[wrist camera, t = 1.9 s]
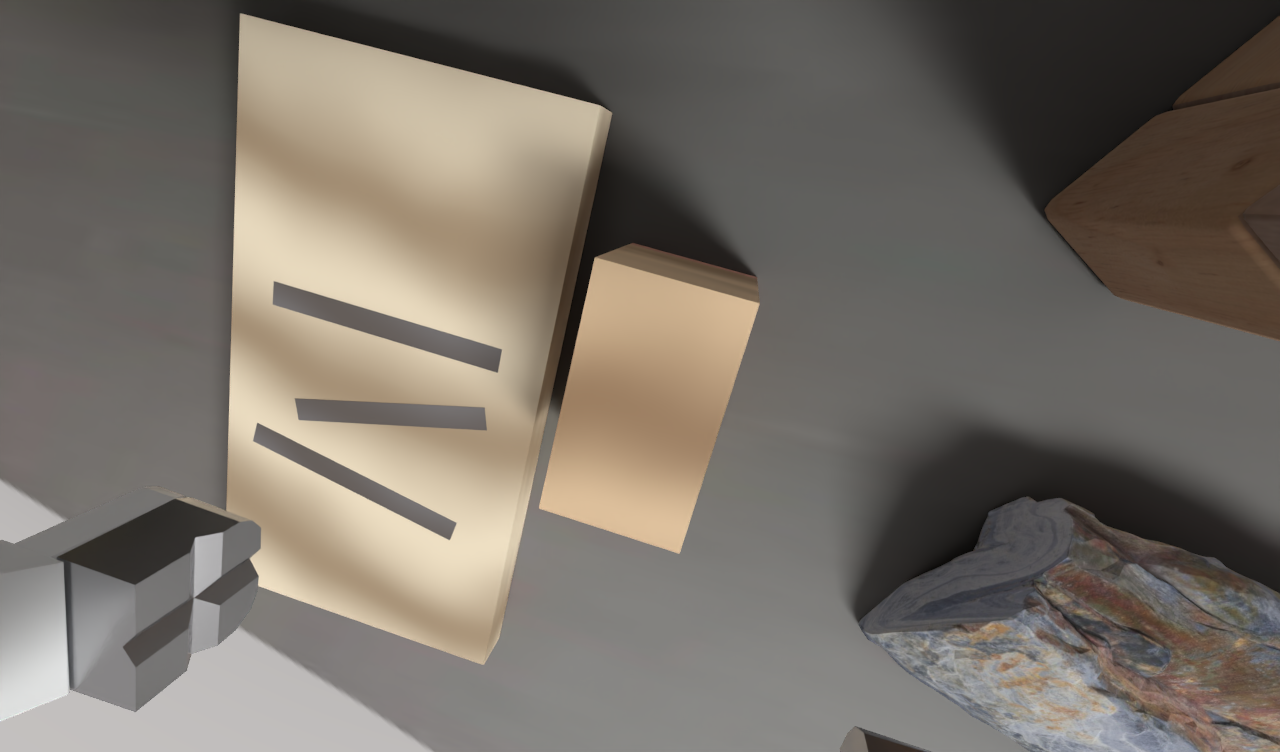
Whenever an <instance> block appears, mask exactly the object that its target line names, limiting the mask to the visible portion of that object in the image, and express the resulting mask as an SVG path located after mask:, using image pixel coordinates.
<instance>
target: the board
mask: <svg viewBox="0 0 1280 752" xmlns="http://www.w3.org/2000/svg"><path fill="white" fill-rule="evenodd" d="M611 117H612V112H610V111H609V110H607V109H605V108H604V107H602V106H601V105H597V104H593V103H589V102H585V101H581V100H577V99H573V98H569V97H565V96H562V95H558V94H554V93H550V92H546V91H542V90H538V89H534V88H530V87H526V86H522V85H519V84H515V83H511V82H507V81H503V80H499V79H495V78H491V77H487V76H483V75H479V74H476V73H472V72H468V71H464V70H460V69H456V68H452V67H448V66H444V65H440V64H436V63H433V62H429V61H425V60H421V59H417V58H413V57H409V56H405V55H401V54H397V53H393V52H390V51H386V50H382V49H378V48H374V47H370V46H366V45H362V44H358V43H354V42H350V41H347V40H343V39H339V38H335V37H331V36H327V35H323V34H319V33H315V32H311V31H307V30H304V29H300V28H296V27H292V26H288V25H284V24H280V23H276V22H272V21H268V20H265V19H261V18H257V17H253V16H249V15H245V14H241V13H240V32H239V68H238V105H237V142H236V178H235V215H234V252H233V288H232V325H231V362H230V398H229V435H228V472H227V509H226V511H229V512H231V513H234V514H237V515H239V516H242V517H245V518H247V519H250V520H253V521H254V522H255V523H256V524H257V525H259V526H260V527H261V549H260V550H259V551H258V552H256V553H255V554H254V555H253V556H252V557H251V558H250V560H251V562H252V564H253V566H254V568H255V570H256V572H257V574H258V576H259V579H258V586H260V587H263V588H265V589H268V590H271V591H274V592H277V593H280V594H282V595H285V596H288V597H291V598H294V599H297V600H300V601H302V602H305V603H308V604H311V605H314V606H317V607H320V608H322V609H325V610H328V611H331V612H334V613H337V614H339V615H342V616H345V617H348V618H351V619H354V620H357V621H359V622H362V623H365V624H368V625H371V626H374V627H376V628H379V629H382V630H385V631H388V632H391V633H394V634H396V635H399V636H402V637H405V638H408V639H411V640H413V641H416V642H419V643H422V644H425V645H428V646H431V647H433V648H436V649H439V650H442V651H445V652H448V653H450V654H453V655H456V656H459V657H462V658H465V659H468V660H470V661H473V662H476V663H479V664H482V665H484V664H485V662H486V660H487V658H488V657H489V655H490V653H491V651H492V650H493V648H494V646H495V644H496V643H497V641H498V639H499V637H500V632H501V627H502V623H503V618H504V613H505V609H506V604H507V600H508V595H509V590H510V586H511V581H512V576H513V572H514V567H515V562H516V558H517V553H518V549H519V544H520V539H521V535H522V530H523V525H524V521H525V516H526V511H527V507H528V502H529V498H530V493H531V488H532V484H533V479H534V474H535V470H536V465H537V460H538V456H539V451H540V447H541V442H542V437H543V433H544V428H545V423H546V419H547V414H548V409H549V405H550V400H551V396H552V391H553V386H554V382H555V377H556V372H557V368H558V363H559V358H560V354H561V349H562V345H563V340H564V335H565V331H566V326H567V321H568V317H569V312H570V307H571V303H572V298H573V294H574V289H575V284H576V280H577V275H578V270H579V266H580V261H581V256H582V252H583V247H584V243H585V238H586V233H587V229H588V224H589V219H590V215H591V210H592V205H593V201H594V196H595V192H596V187H597V182H598V178H599V173H600V168H601V164H602V159H603V154H604V150H605V145H606V141H607V136H608V131H609V127H610V122H611Z"/></svg>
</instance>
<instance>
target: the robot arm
mask: <svg viewBox="0 0 1280 752" xmlns="http://www.w3.org/2000/svg"><path fill="white" fill-rule="evenodd" d="M260 549H261V527H260V526H259V525H257V524H256V523H255V522H254V521H253V520H250V519H247V518H245V517H242V516H239V515H237V514H234V513H231V512H229V511H226V510H223V509H220V508H218V507H215V506H212V505H210V504H207V503H204V502H202V501H199V500H196V499H194V498H191V497H189V498H188V497H186V496H183V495H180V494H178V493H175V492H172V491H170V490H167V489H164V488H162V487H159V486H153V487H141V488H139V489H137V490H134V491H132V492H130V493H128V494H125V495H123V496H121V497H119V498H116V499H114V500H112V501H110V502H107V503H105V504H103V505H101V506H98V507H96V508H94V509H92V510H89V511H87V512H85V513H83V514H80V515H78V516H76V517H74V518H71V519H69V520H67V521H65V522H62V523H60V524H58V525H56V526H53V527H51V528H49V529H47V530H45V531H42V532H40V533H38V534H36V535H33V536H31V537H29V538H26V539H24V540H22V541H20V542H17V543H15V544H13V543H10V542H7V541H4V540H1V541H0V722H1V721H3V720H5V719H8V718H10V717H13V716H16V715H18V714H20V713H23V712H25V711H28V710H31V709H33V708H36V707H38V706H40V705H43V704H46V703H48V702H51V701H53V700H55V699H58V698H61V697H63V696H66V695H68V694H69V693H70V690H73V691H76V692H79V693H82V694H84V695H88V696H90V697H93V698H96V699H99V700H102V701H105V702H108V703H111V704H114V705H117V706H120V707H122V708H125V709H128V710H131V711H134V712H136V711H137V710H139V709H140V708H141V707H142V706H144V705H145V704H146V703H147V702H148V701H150V700H151V699H152V698H153V697H155V696H156V695H157V694H158V693H160V692H161V691H162V690H163V689H165V688H166V687H167V686H168V685H170V684H171V683H172V682H173V681H174V680H176V679H177V678H178V677H179V676H181V675H182V674H183V673H184V672H186V671H187V667H188V664H189V660H190V657H191V654H193V653H196V652H199V651H202V650H205V649H208V648H211V647H214V646H217V645H219V644H220V643H221V642H222V641H223V640H224V639H226V638H227V637H228V636H229V635H230V634H232V633H233V632H234V631H235V630H236V629H237V628H238V626H239V625H240V624H241V622H242V621H243V619H244V618H245V617H246V615H247V614H248V612H249V611H250V610H251V608H252V605H253V602H254V600H255V597H256V594H257V590H258V579H259V576H258V574H257V572H256V570H255V568H254V566H253V564H252V562H251V560H250V558H251V557H252V556H253V555H254V554H255V553H256V552H258V551H259V550H260ZM840 752H931V751H928V750H925V749H922V748H919V747H916V746H913V745H910V744H907V743H904V742H901V741H898V740H895V739H892V738H889V737H886V736H883V735H880V734H877V733H874V732H871V731H868V730H865V729H862V728H859V727H856V726H855V727H854V728H853V729H852V730H850V731H849V732H848V733H847V735H846V737H845V739H844V741H843V744H842V746H841V748H840Z"/></svg>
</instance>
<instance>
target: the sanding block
mask: <svg viewBox="0 0 1280 752" xmlns="http://www.w3.org/2000/svg"><path fill="white" fill-rule="evenodd" d="M759 304H760V302H759V293H758V284H757V277H755V276H751V275H748V274H744V273H740V272H737V271H733V270H730V269H726V268H722V267H719V266H715V265H711V264H708V263H704V262H701V261H697V260H693V259H690V258H686V257H682V256H679V255H675V254H672V253H668V252H664V251H661V250H657V249H654V248H650V247H646V246H643V245H639V244H635V243H631V244H628V245H626V246H623V247H620V248H618V249H615V250H613V251H610V252H607V253H605V254H602V255H600V256H597V257H595V259H594V263H593V268H592V272H591V277H590V281H589V286H588V290H587V295H586V299H585V304H584V308H583V313H582V317H581V322H580V326H579V331H578V335H577V340H576V344H575V349H574V353H573V358H572V362H571V367H570V371H569V376H568V380H567V385H566V389H565V394H564V398H563V402H562V407H561V411H560V416H559V420H558V425H557V429H556V434H555V438H554V443H553V447H552V452H551V456H550V461H549V465H548V470H547V474H546V479H545V483H544V488H543V492H542V497H541V501H540V506H539V508H540V509H543V510H546V511H549V512H552V513H555V514H558V515H561V516H564V517H567V518H571V519H574V520H577V521H580V522H583V523H586V524H589V525H592V526H595V527H598V528H602V529H605V530H608V531H611V532H614V533H617V534H620V535H623V536H626V537H629V538H633V539H636V540H639V541H642V542H645V543H648V544H651V545H654V546H657V547H660V548H664V549H667V550H670V551H673V552H676V553H679V554H680V551H681V547H682V544H683V541H684V538H685V535H686V532H687V529H688V526H689V522H690V519H691V516H692V513H693V510H694V507H695V504H696V501H697V497H698V494H699V491H700V488H701V485H702V482H703V479H704V476H705V472H706V469H707V466H708V463H709V460H710V457H711V454H712V451H713V447H714V444H715V441H716V438H717V435H718V432H719V429H720V426H721V423H722V419H723V416H724V413H725V410H726V407H727V404H728V401H729V398H730V394H731V391H732V388H733V385H734V382H735V379H736V376H737V373H738V369H739V366H740V363H741V360H742V357H743V354H744V351H745V348H746V344H747V341H748V338H749V335H750V332H751V329H752V326H753V323H754V319H755V316H756V313H757V310H758V307H759Z"/></svg>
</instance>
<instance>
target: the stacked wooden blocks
mask: <svg viewBox="0 0 1280 752" xmlns="http://www.w3.org/2000/svg"><path fill="white" fill-rule="evenodd" d="M1172 108H1173V110H1172V111H1168V112H1165V113H1162V114H1159V115H1157V116H1154V117H1153V118H1152V119H1151V120H1149V121H1148V122H1147V123H1146V124H1144V125H1143V126H1142V127H1141V128H1139V129H1138V130H1137V131H1136V132H1134V133H1133V134H1132V135H1131V136H1129V137H1128V138H1127V139H1126V140H1125V141H1123V142H1122V143H1121V144H1120V145H1118V146H1117V147H1116V148H1115V149H1113V150H1112V151H1111V152H1110V153H1108V154H1107V155H1106V156H1105V157H1104V158H1102V159H1101V160H1100V161H1099V162H1097V163H1096V164H1095V165H1094V166H1092V167H1091V168H1090V169H1089V170H1087V171H1086V172H1085V173H1084V174H1083V175H1081V176H1080V177H1079V178H1078V179H1076V180H1075V181H1074V182H1073V183H1071V184H1070V185H1069V186H1068V187H1066V188H1065V189H1064V190H1063V191H1062V192H1060V193H1059V194H1058V195H1057V196H1055V197H1054V198H1053V199H1052V200H1051V201H1050V202H1049V204H1048V205H1047V206H1046V208H1045V209H1044V210H1045V213H1046V215H1047V219H1048V220H1049V221H1050V222H1051V224H1052V225H1053V226H1054V227H1055V228H1056V229H1057V230H1058V232H1059V233H1060V234H1061V235H1062V236H1063V237H1064V238H1065V240H1066V241H1067V242H1068V243H1069V244H1070V245H1071V246H1072V248H1073V249H1074V250H1075V251H1076V252H1077V253H1078V254H1079V256H1080V257H1081V258H1082V259H1083V260H1084V261H1085V262H1086V264H1087V265H1088V266H1089V267H1090V268H1091V269H1092V270H1093V272H1094V273H1095V274H1096V275H1097V276H1098V277H1099V278H1100V280H1101V281H1102V282H1103V283H1104V284H1105V285H1106V286H1107V288H1108V289H1109V290H1110V291H1111V292H1112V293H1113V294H1114V295H1115V296H1117V297H1120V298H1122V299H1125V300H1128V301H1132V302H1136V303H1139V304H1143V305H1147V306H1151V307H1154V308H1158V309H1162V310H1166V311H1169V312H1173V313H1177V314H1180V315H1184V316H1188V317H1192V318H1195V319H1199V320H1203V321H1207V322H1210V323H1214V324H1218V325H1221V326H1225V327H1229V328H1233V329H1236V330H1240V331H1244V332H1248V333H1251V334H1255V335H1259V336H1262V337H1266V338H1270V339H1274V340H1277V341H1280V16H1278V17H1277V18H1276V19H1275V20H1273V21H1272V22H1271V23H1270V24H1268V25H1267V26H1266V27H1265V28H1263V29H1262V30H1261V31H1260V32H1259V33H1257V34H1256V35H1255V36H1254V37H1252V38H1251V39H1250V40H1249V41H1247V42H1246V43H1245V44H1244V45H1242V46H1241V47H1240V48H1239V49H1237V50H1236V51H1235V52H1234V53H1233V54H1231V55H1230V56H1229V57H1228V58H1226V59H1225V60H1224V61H1223V62H1221V63H1220V64H1219V65H1218V66H1216V67H1215V68H1214V69H1213V70H1212V71H1210V72H1209V73H1208V74H1207V75H1205V76H1204V77H1203V78H1202V79H1200V80H1199V81H1198V82H1197V83H1195V84H1194V85H1193V86H1192V87H1191V88H1189V89H1188V90H1187V91H1186V92H1184V93H1183V94H1182V95H1181V96H1180V97H1179V98H1178V99H1177V100H1176V101H1175V103H1174V104H1173V106H1172Z"/></svg>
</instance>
